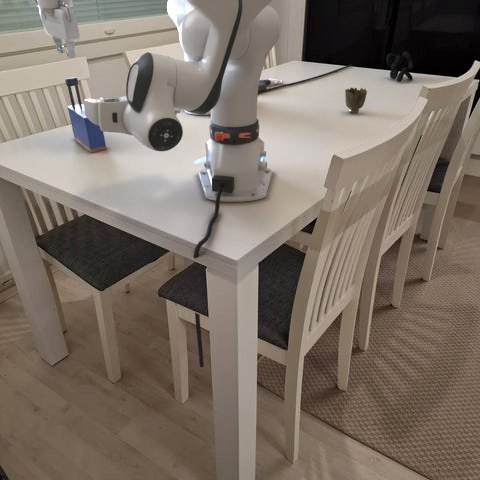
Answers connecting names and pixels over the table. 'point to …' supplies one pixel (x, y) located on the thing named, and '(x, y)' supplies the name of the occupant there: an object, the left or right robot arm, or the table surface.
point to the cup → (355, 99)
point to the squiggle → (399, 66)
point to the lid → (74, 108)
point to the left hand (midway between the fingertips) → (66, 55)
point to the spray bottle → (267, 83)
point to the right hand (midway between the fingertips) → (121, 100)
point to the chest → (87, 133)
